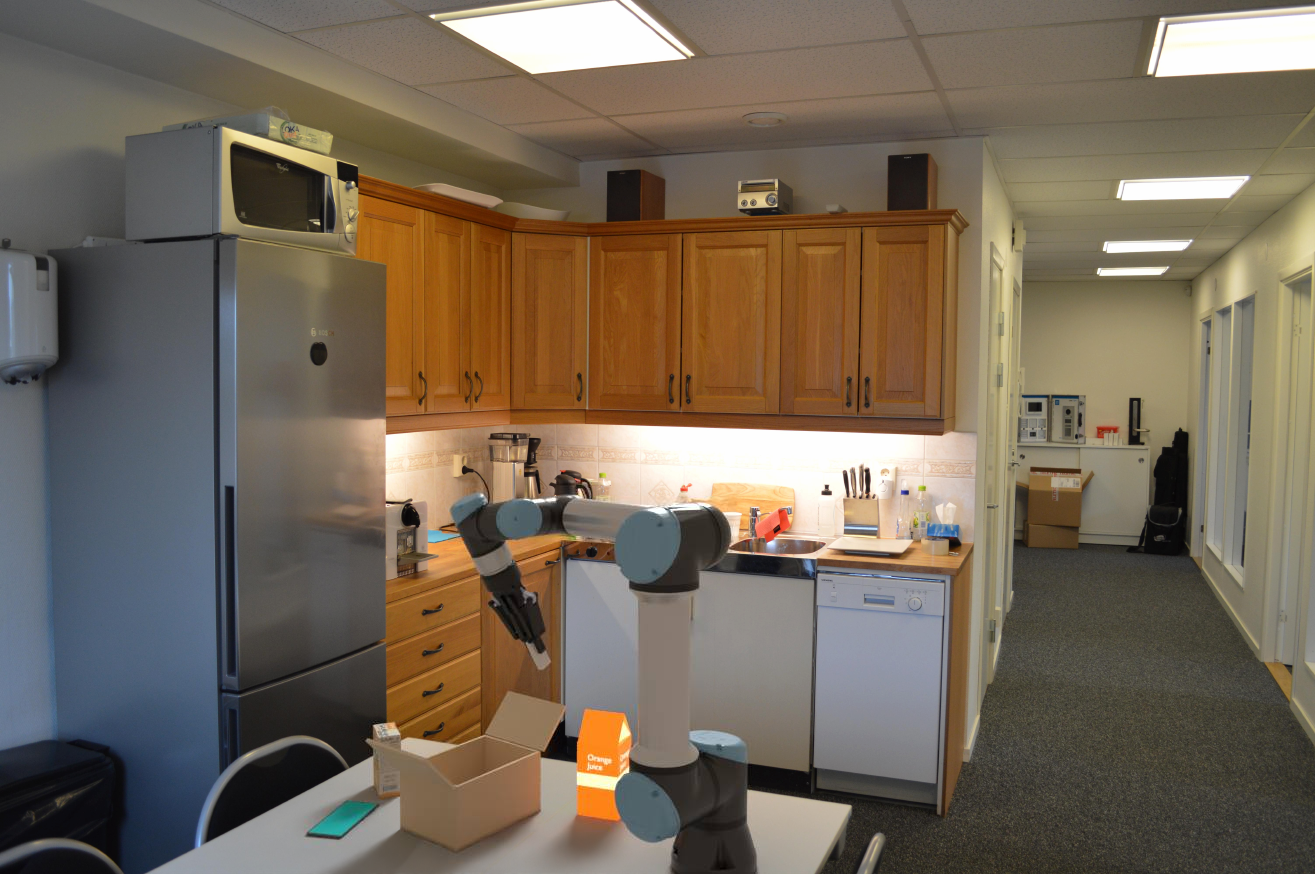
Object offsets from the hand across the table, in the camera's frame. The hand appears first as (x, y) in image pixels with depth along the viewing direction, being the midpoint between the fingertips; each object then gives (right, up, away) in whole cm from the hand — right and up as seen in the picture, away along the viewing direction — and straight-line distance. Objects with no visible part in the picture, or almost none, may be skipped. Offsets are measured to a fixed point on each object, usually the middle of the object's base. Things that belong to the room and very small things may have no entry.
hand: (544, 665), depth 192 cm
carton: (-13, -28, -10) cm, 32 cm away
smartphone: (-38, -28, -10) cm, 49 cm away
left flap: (-22, -12, -22) cm, 33 cm away
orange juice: (+13, -28, -5) cm, 31 cm away
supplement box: (-34, -28, +4) cm, 44 cm away
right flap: (-4, -12, +2) cm, 12 cm away
